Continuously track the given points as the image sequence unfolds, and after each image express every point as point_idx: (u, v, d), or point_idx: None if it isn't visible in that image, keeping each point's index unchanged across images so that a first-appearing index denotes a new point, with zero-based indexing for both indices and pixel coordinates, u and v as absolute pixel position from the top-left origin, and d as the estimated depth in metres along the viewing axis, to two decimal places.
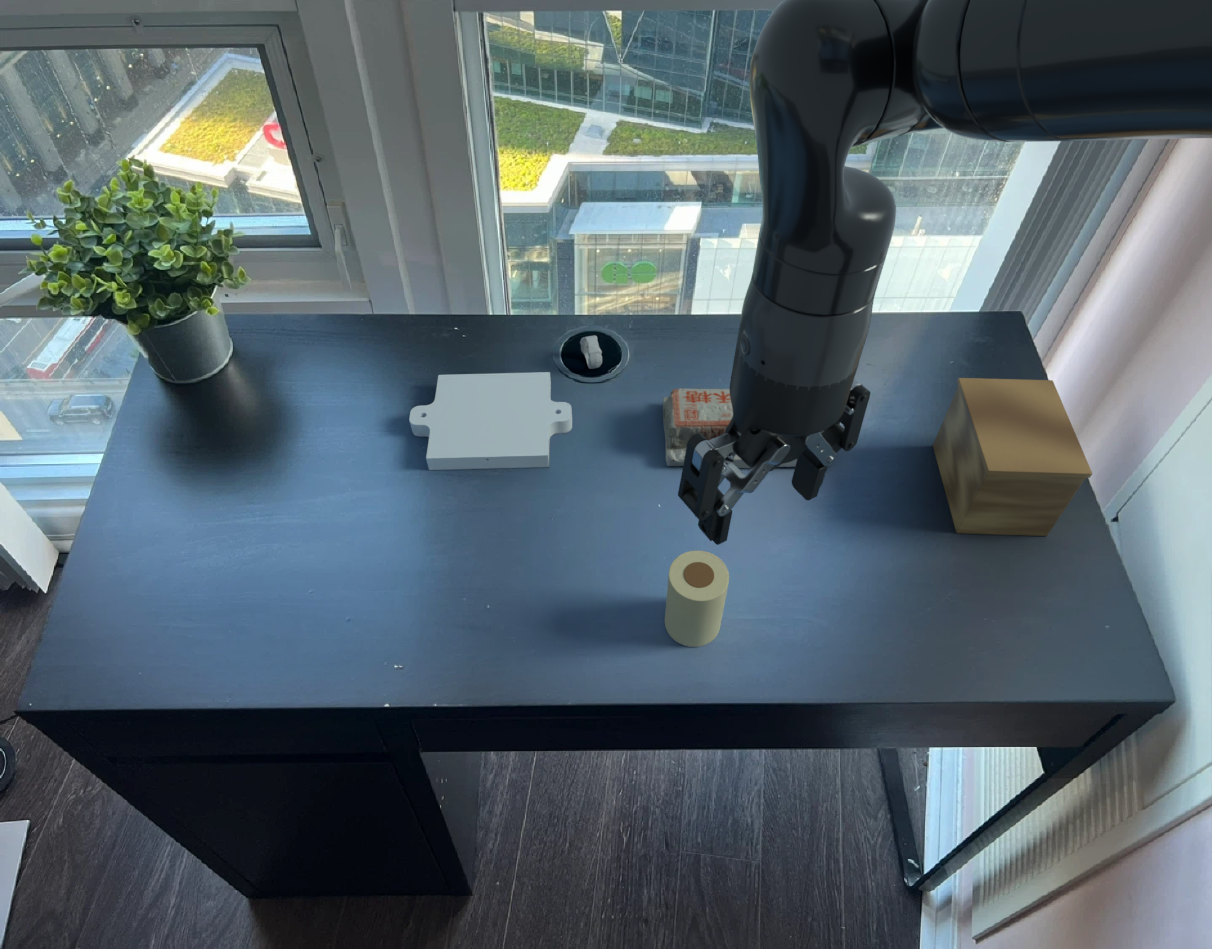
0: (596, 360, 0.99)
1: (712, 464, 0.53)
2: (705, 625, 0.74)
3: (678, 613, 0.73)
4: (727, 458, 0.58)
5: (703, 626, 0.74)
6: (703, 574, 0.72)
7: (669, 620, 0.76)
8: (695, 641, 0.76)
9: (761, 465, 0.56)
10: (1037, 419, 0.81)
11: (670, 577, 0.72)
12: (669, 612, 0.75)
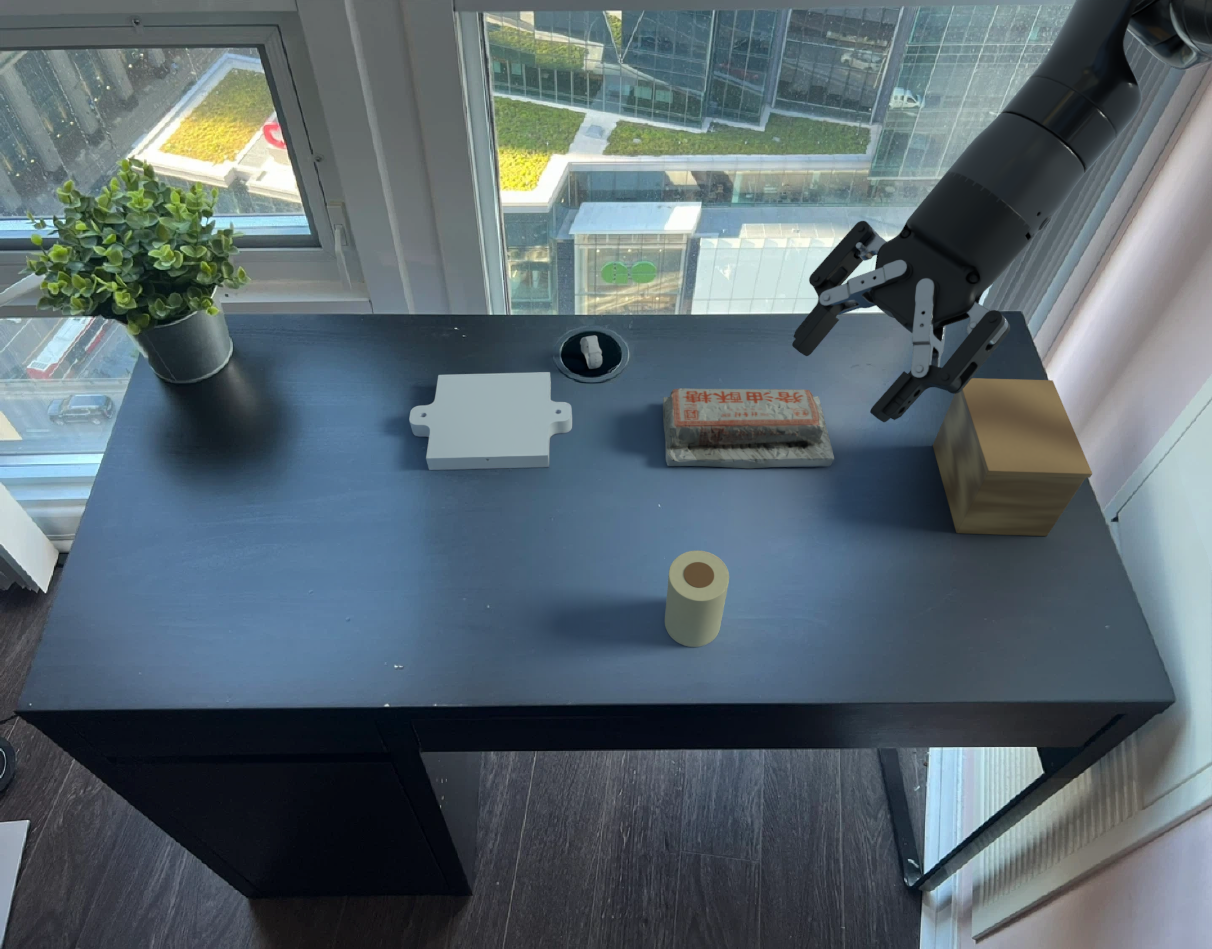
0: (596, 360, 0.99)
1: (858, 225, 0.63)
2: (705, 625, 0.74)
3: (678, 613, 0.73)
4: (871, 293, 0.64)
5: (703, 626, 0.74)
6: (703, 574, 0.72)
7: (669, 620, 0.76)
8: (695, 641, 0.76)
9: (877, 269, 0.61)
10: (1037, 419, 0.81)
11: (670, 577, 0.72)
12: (669, 612, 0.75)
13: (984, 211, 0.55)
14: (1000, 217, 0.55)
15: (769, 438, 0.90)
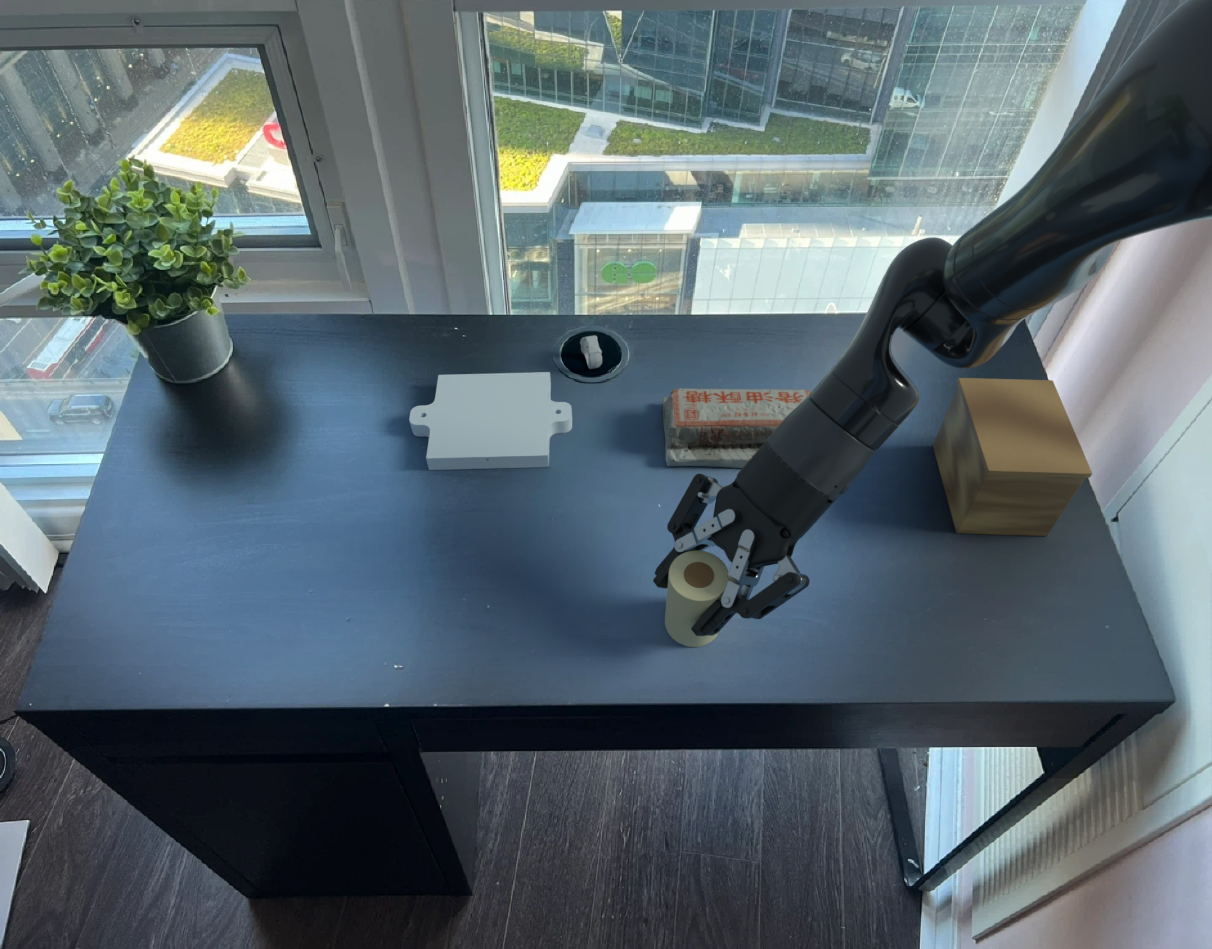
0: (596, 360, 0.99)
1: (696, 477, 0.74)
2: None
3: (678, 612, 0.73)
4: None
5: None
6: (702, 574, 0.72)
7: (669, 620, 0.76)
8: (695, 641, 0.76)
9: (713, 518, 0.72)
10: (1037, 419, 0.81)
11: (670, 577, 0.72)
12: (669, 612, 0.75)
13: (789, 485, 0.66)
14: (802, 491, 0.66)
15: None
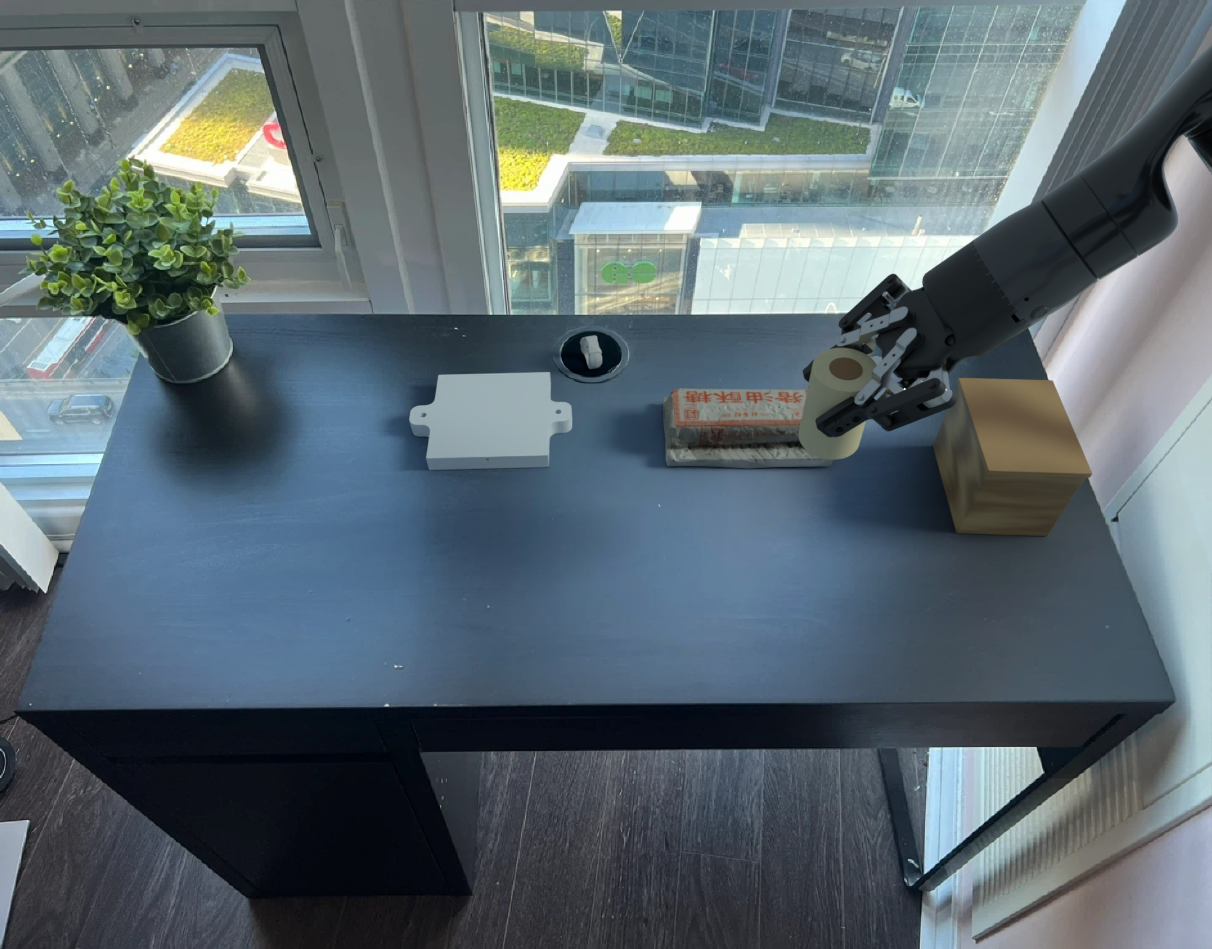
0: (596, 360, 0.99)
1: (889, 277, 0.68)
2: None
3: (810, 403, 0.69)
4: None
5: None
6: (850, 369, 0.67)
7: (802, 417, 0.71)
8: (819, 448, 0.71)
9: (886, 315, 0.66)
10: (1037, 419, 0.81)
11: (815, 360, 0.68)
12: (804, 406, 0.71)
13: (972, 280, 0.59)
14: (985, 290, 0.58)
15: (769, 438, 0.90)
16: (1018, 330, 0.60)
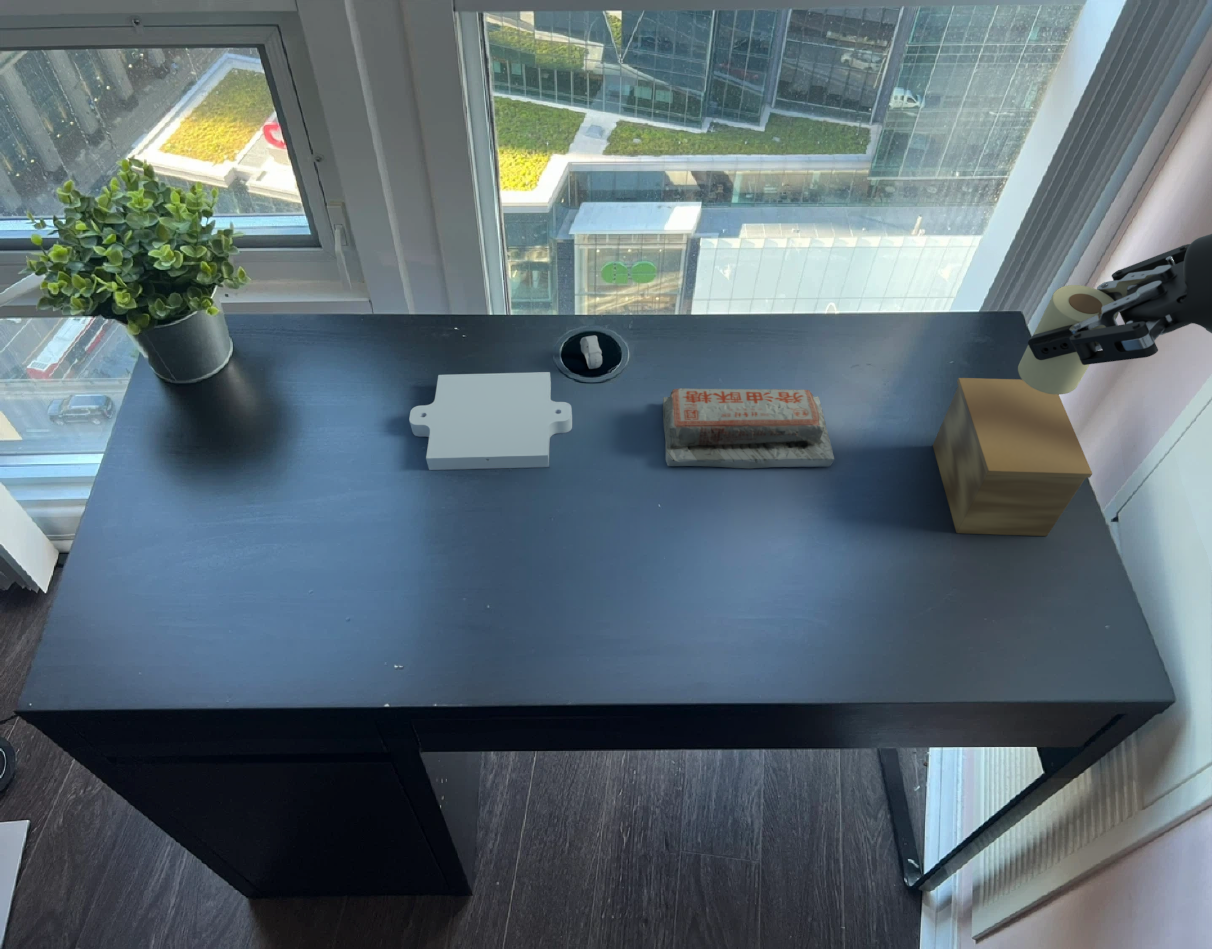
0: (596, 360, 0.99)
1: (1184, 246, 0.69)
2: None
3: (1038, 324, 0.73)
4: None
5: None
6: (1089, 306, 0.70)
7: None
8: (1028, 372, 0.75)
9: (1151, 270, 0.67)
10: (1037, 419, 0.81)
11: (1063, 287, 0.71)
12: None
13: None
14: None
15: (769, 438, 0.90)
16: None
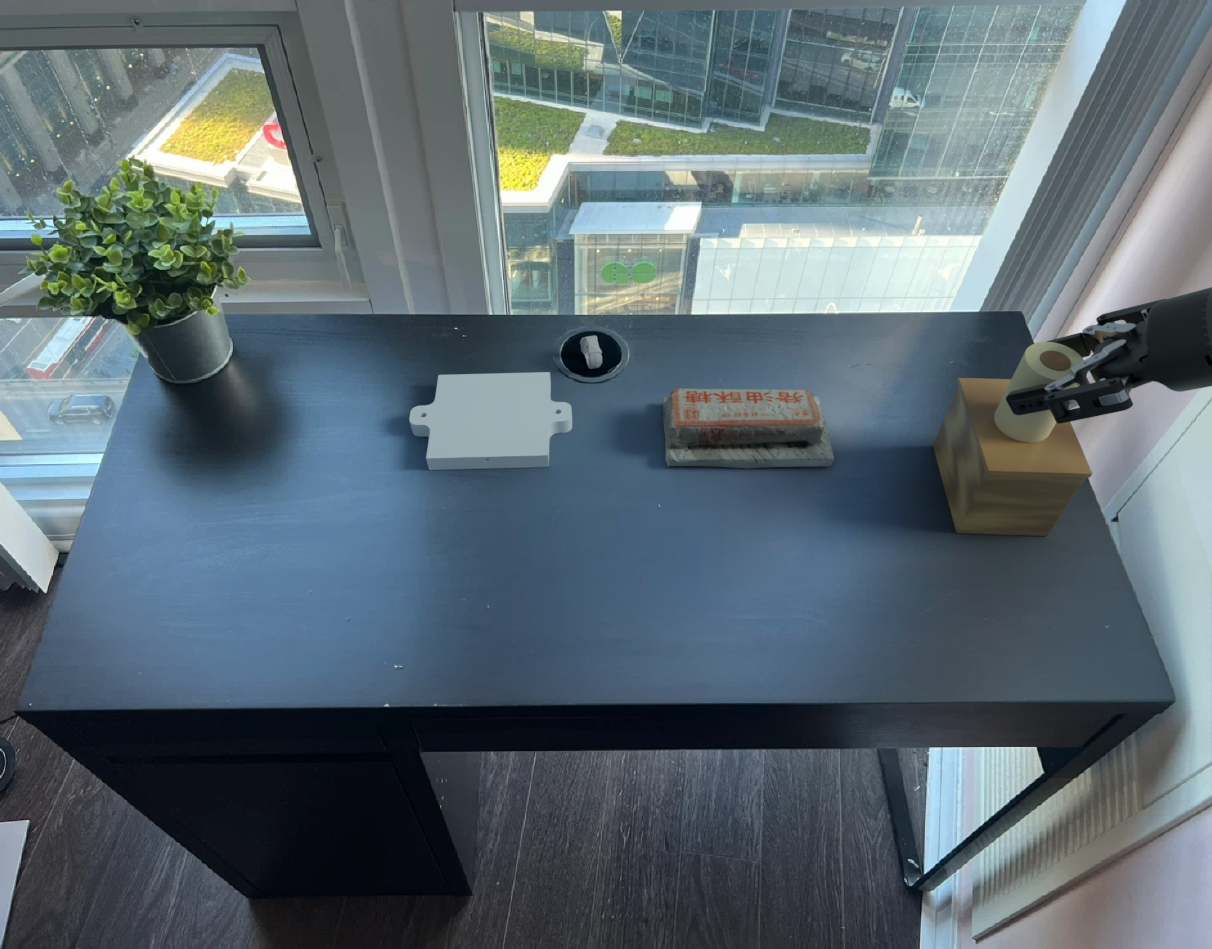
0: (596, 360, 0.99)
1: (1161, 300, 0.72)
2: None
3: (1012, 378, 0.78)
4: None
5: None
6: (1058, 363, 0.75)
7: None
8: (1003, 422, 0.80)
9: (1123, 325, 0.72)
10: None
11: (1035, 344, 0.76)
12: None
13: (1188, 312, 0.64)
14: (1192, 323, 0.63)
15: (769, 438, 0.90)
16: (1211, 376, 0.64)
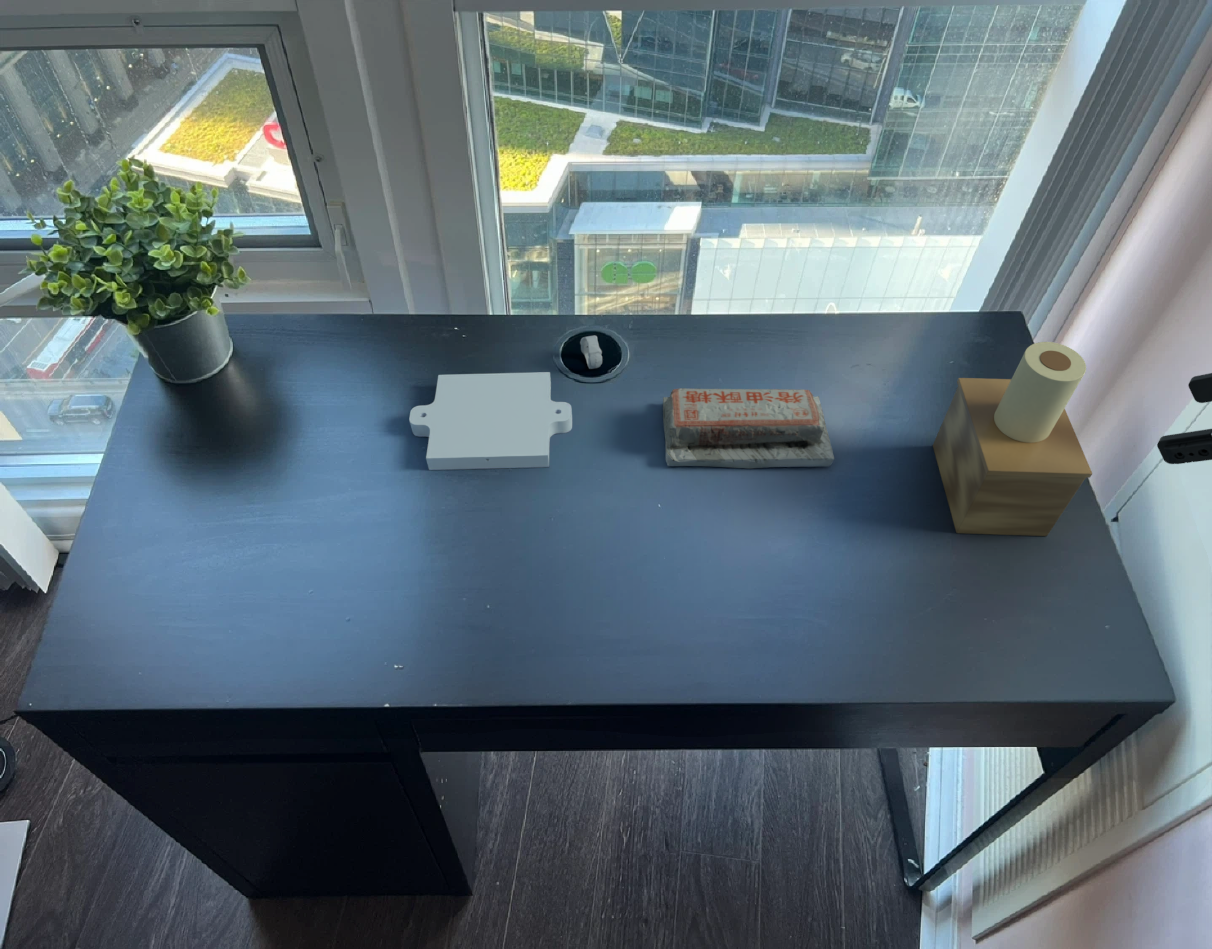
0: (596, 360, 0.99)
1: None
2: (1019, 407, 0.77)
3: (1012, 378, 0.78)
4: None
5: (1016, 406, 0.77)
6: (1058, 363, 0.75)
7: None
8: (1003, 422, 0.80)
9: None
10: None
11: (1035, 344, 0.76)
12: None
13: None
14: None
15: (769, 438, 0.90)
16: None
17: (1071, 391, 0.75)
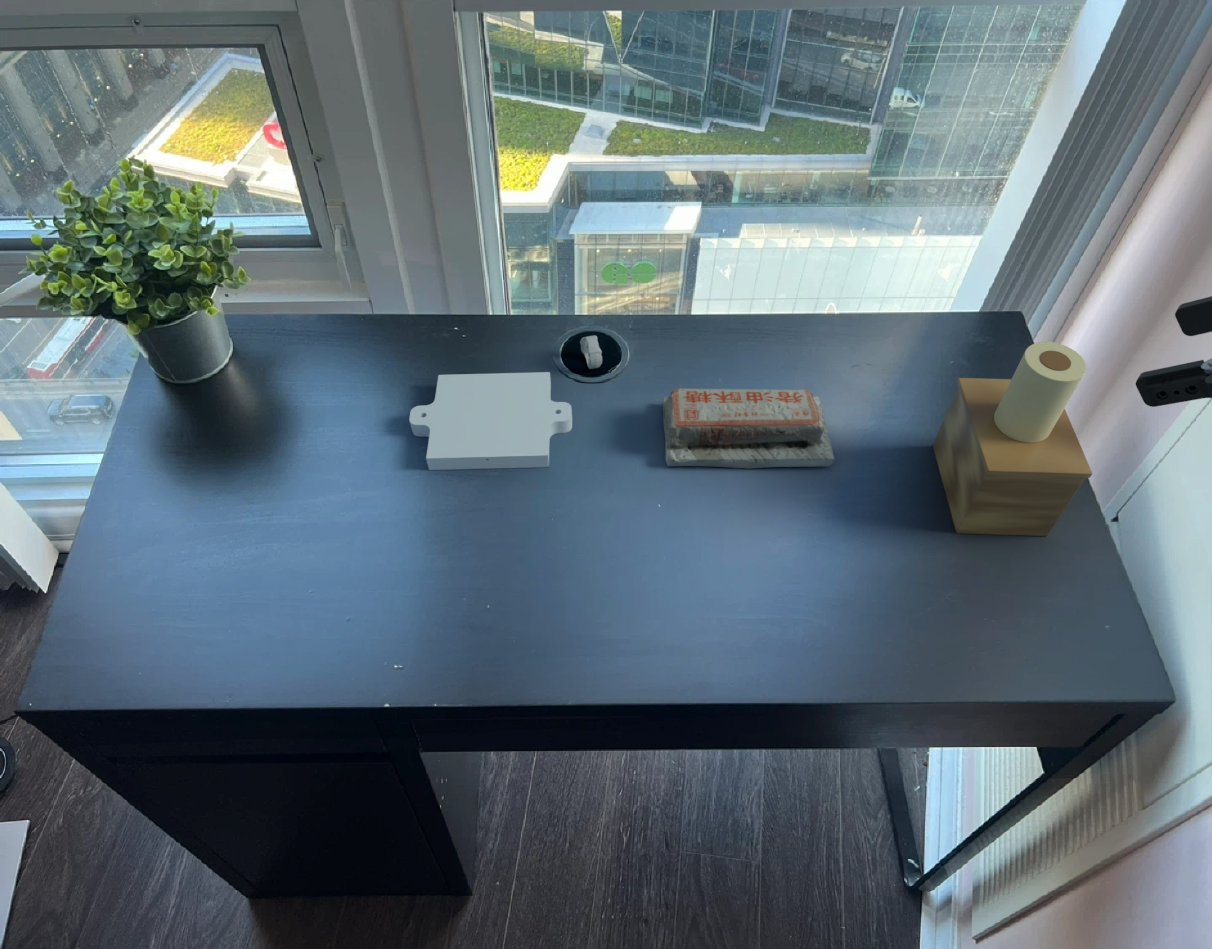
0: (596, 360, 0.99)
1: None
2: (1019, 407, 0.77)
3: (1012, 378, 0.78)
4: None
5: (1016, 406, 0.77)
6: (1058, 363, 0.75)
7: None
8: (1003, 422, 0.80)
9: None
10: None
11: (1035, 344, 0.76)
12: None
13: None
14: None
15: (769, 438, 0.90)
16: None
17: (1071, 391, 0.75)
